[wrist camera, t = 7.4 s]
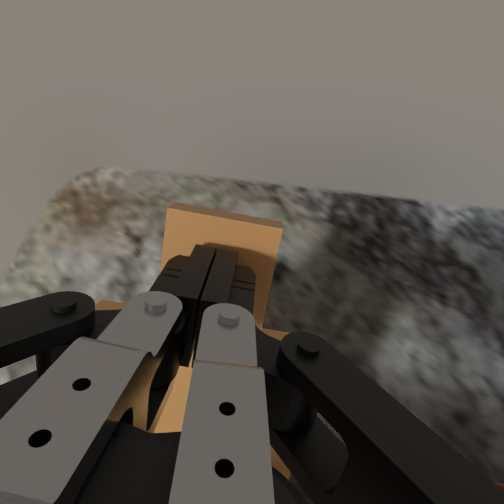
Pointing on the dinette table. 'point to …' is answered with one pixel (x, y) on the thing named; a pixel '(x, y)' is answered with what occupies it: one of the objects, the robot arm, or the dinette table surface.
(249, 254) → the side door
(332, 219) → the dinette table surface
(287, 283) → the dinette table surface
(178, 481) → the robot arm
